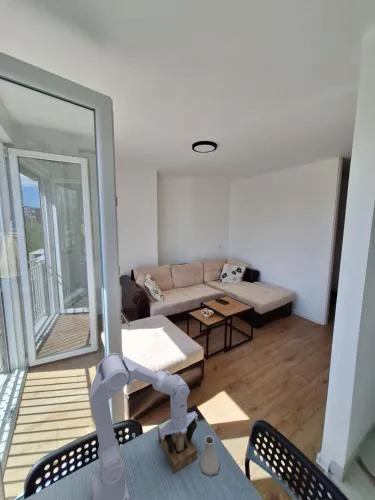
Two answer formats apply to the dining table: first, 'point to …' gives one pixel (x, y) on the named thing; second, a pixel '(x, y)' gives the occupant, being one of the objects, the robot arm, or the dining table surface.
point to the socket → (181, 454)
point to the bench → (160, 429)
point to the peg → (179, 442)
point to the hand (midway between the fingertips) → (179, 444)
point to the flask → (209, 458)
